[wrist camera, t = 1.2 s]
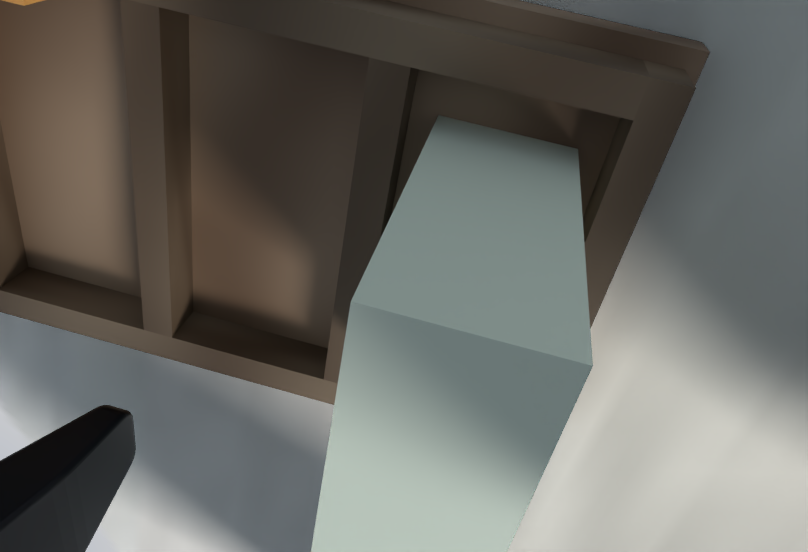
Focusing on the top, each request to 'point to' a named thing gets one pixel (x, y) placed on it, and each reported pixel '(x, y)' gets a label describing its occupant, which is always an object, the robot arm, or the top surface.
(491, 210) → the block
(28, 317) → the rack
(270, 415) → the top surface
